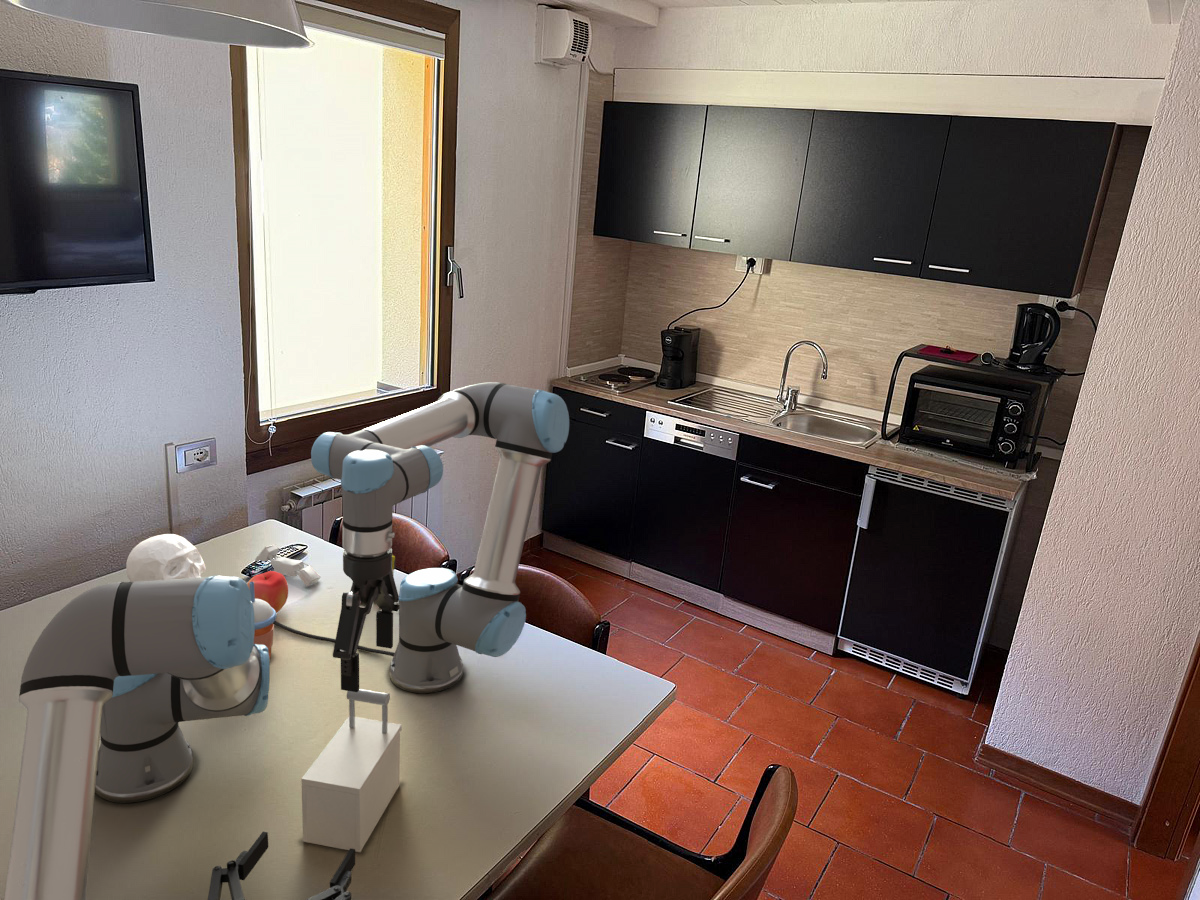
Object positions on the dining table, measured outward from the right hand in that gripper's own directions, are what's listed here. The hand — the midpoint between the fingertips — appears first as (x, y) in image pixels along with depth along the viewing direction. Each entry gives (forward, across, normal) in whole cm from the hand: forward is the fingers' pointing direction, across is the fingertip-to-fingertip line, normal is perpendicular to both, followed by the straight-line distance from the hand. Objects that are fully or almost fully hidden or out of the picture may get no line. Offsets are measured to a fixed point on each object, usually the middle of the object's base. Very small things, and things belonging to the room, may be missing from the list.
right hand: (368, 667), depth 140 cm
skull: (+24, +50, +71) cm, 90 cm away
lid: (+13, -6, 0) cm, 14 cm away
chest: (+24, -6, 0) cm, 25 cm away
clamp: (+24, +70, +53) cm, 91 cm away
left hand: (+17, -22, 0) cm, 28 cm away
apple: (+24, +50, +47) cm, 73 cm away
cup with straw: (+24, +32, +39) cm, 56 cm away
